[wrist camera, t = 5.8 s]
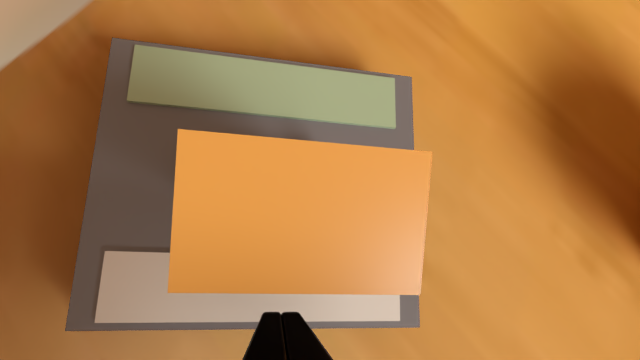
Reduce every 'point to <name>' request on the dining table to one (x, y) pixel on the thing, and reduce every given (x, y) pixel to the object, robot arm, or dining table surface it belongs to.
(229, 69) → the switch base
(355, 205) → the handle
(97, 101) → the dining table surface
